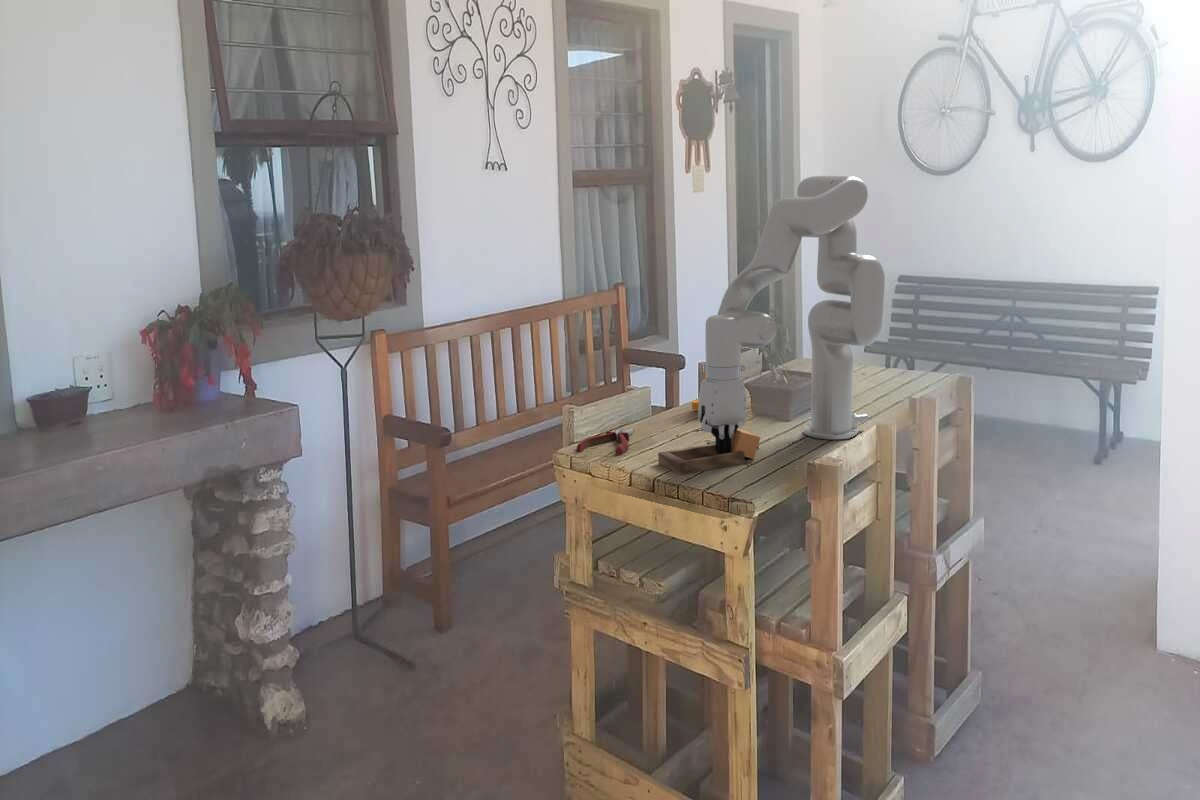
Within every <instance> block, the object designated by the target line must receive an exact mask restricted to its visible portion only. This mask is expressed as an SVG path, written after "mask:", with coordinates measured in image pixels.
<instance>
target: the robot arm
mask: <svg viewBox="0 0 1200 800" xmlns="http://www.w3.org/2000/svg"><path fill="white" fill-rule="evenodd" d="M796 192H797V193H796V195H797V196H790V197H789V196H788V197H782V198H780V199H778V200H776V201H775V202H774V203H773V205H772V206H771V208H770V210H769V213H768V216H767V218H766V222H765V224H764V227H763V230H762V233H761V237H760V238H759V241H758V242H759V243H758V245H757V247H756V251H755V253H754V256H753V258H752V260H751V262H750V263H749V264H748V265H747V266H746V267H745V268H743V270H742V271H740V273H739V274H738V275H737V276H736V277H735V279H734V280H732V282H731V283H730V284H729V286H728V287H727V289H726V290H725V293H724V295H723V298H722V299H721V302H720V304H719V305H720V306H719V309H718V311H717V314H715V315H711V316H708V318H707V319H706V320H705V372H706V379H705V378H704V379H702V380H701V384H700V388H699V389H700V390H699V394H698V395H699V397H698V400H699V405H698V410H697V419H698V422H699V423H701V426H700V430H701V431H703V432H704V433H710V434H712V435H713V437H714V438H715V441H716V453H717V454H718V455H719V454H725V453H730V450H731V438H732V437H733V436H734V433H735V431H736V430H737V429H741V428H742V427H745V425H746V420H747V415H748V411H747V410H748V409H747V408H748V407H747V406H748V405H747V392H746V386H745V381H744V378H743V377H742V372H744V371H745V370H746V366H745V365H744V364H742V349H743V348H762V347H765V346H767V345H769V344H770V343H772V342H773V340H774V339H775V337H776V336H777V331H778V330H777V323H776V321H775V319H774V318H773V317H772V316H770V315H769V314H767V313H764V312H760V311H753V310H748V307H749V304H750V303H751V301H752V299H754V297H755V296H756V295H757V294H758V293H759V292H760V291H761V290H763V289H764V288H766V287H768V286H769V285H772V284H774V283H775V282H777V281H778V282H779V280H782V279H784V278H786V277H787V276H788V275H789V274H791V271H792V268H793V266H794V261H795V258H796V256H797V253H798V250H799V247H800V244H801V243H802V239H803V238H818V245H817V246H818V247H817V267H816V268H817V269H816V281H817V285H818V288H819V289H820V290H821V291H822V292H824V293H827V294H830V295H836V296H837V295H838V296H847V297H850V301H845V300H835V299H825V300H821V301H819V302H817V303H815V304H814V306H812V307H811V309H810V311H809V313H808V316H807V326H808V327H807V328H808V335H809V339H810V345H811V381H810V382H811V384H810V385H811V389H810V392H811V393H810V395H811V396H810V424H807V425H805V426H804V427H803V433H804V435H806V436H808V437H811V438H814V439H815V438H816V439H821V440H836V441H837V440H847V439H851V437H852V438H854V437H853V436H854V435H856V434H857V433H858V434H859V428H858V427H857V426H856V425H857V424H858V423H866V422H868V421H869V415H868V414H867V413H861V414H857V413H853V403H854V402H853V401H854V400H853V399H854V397H853V395H854V394H853V391H854V390H853V389H854V356H853V352H852V349H851V346H857V347H865V346H866V347H867V346H870V345H872V344H873V343H875V342H876V341H877V339H878V337H879V336H880V334H881V330H882V324H883V315H884V314H883V313H884V302H885V301H884V298H885V286H886V284H885V283H886V282H885V281H886V278H885V272H884V268H883V265H882V264H881V262H880V261H879V260H878V259H877V258H876V257H874V256H872V255H869V254H859V253H858V252H857V251H858V250H857V239H858V238H857V234H858V233H857V227H856V223H855V220H854V218H855V217H856V216H858V214H859V213H860V212H862V211H863V210H864V208H865V206H866V204H867V201H868V197H869V194H868V188H867V185H866V183H865V182H864V181H863V180H862V179H861V178H860V177H856V176H853V175H816V176H815V175H813V176H809V177H806V178H804V179H802V180H801V181H800V183H799V184H798V186H797V190H796Z"/></svg>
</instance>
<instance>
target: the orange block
mask: <svg viewBox="0 0 1200 800" xmlns="http://www.w3.org/2000/svg"><path fill="white" fill-rule="evenodd" d="M760 440H761V436H759V435H757V434H755V433H752V432H750V431H747V430H745V429H744V430H743V429H741V428H738V429H737V430H736V431H735V433H734V436H733V437H732V438H731V450H730V452H737V451H743V452H744V458H749V459H752V460H753V459H755V456H756V453H757V450H758V449H757V447H758V446H759V444H760Z"/></svg>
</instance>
